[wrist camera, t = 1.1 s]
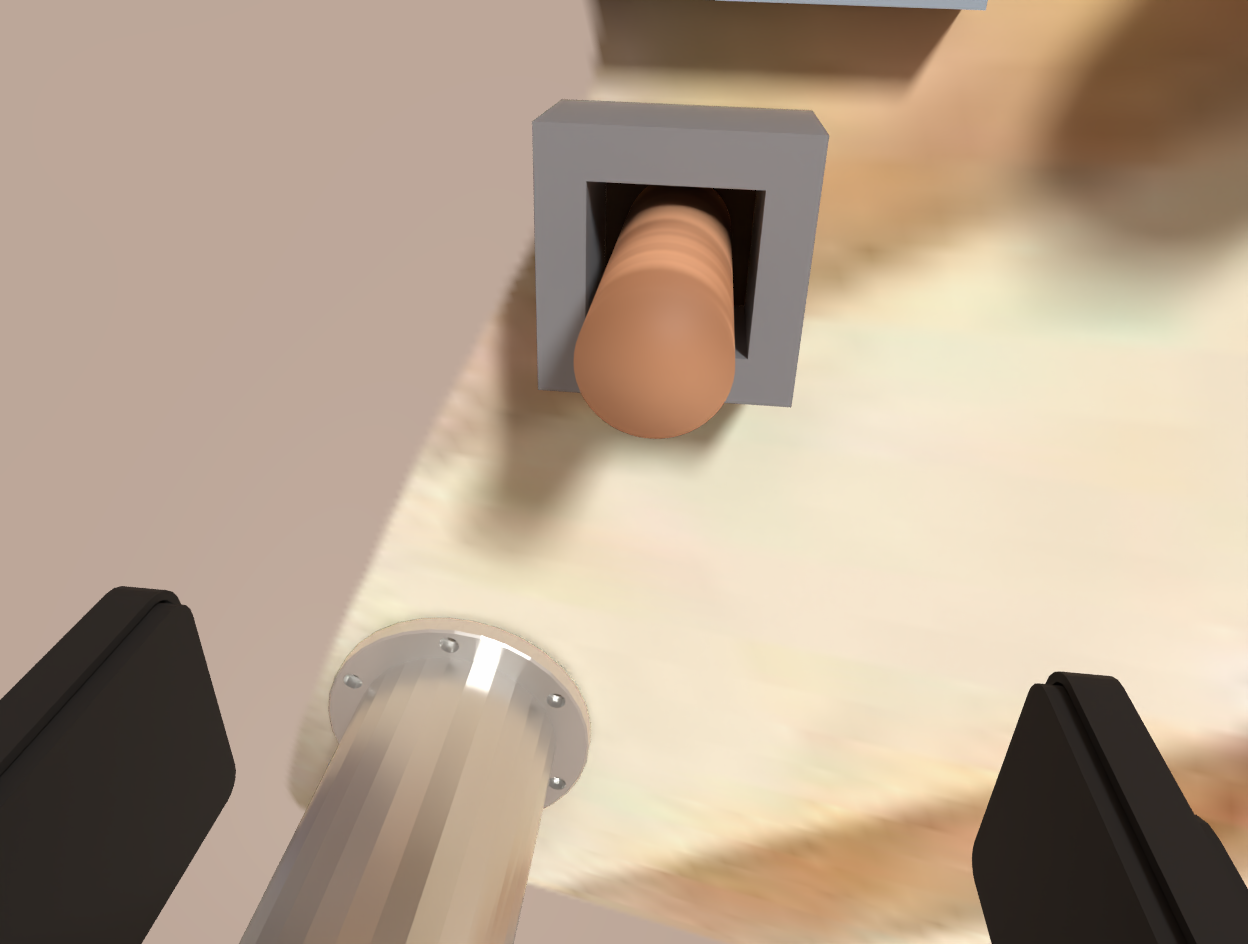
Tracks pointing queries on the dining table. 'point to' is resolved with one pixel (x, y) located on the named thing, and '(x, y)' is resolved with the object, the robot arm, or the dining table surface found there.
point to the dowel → (662, 317)
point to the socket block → (678, 156)
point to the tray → (892, 3)
